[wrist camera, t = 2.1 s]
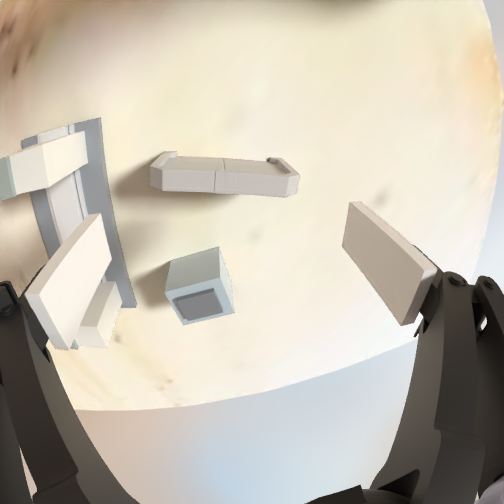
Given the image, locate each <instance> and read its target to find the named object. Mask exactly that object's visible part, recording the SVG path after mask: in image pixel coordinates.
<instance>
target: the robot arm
mask: <svg viewBox="0 0 504 504" xmlns="http://www.w3.org/2000/svg"><path fill="white" fill-rule="evenodd" d="M342 247H343V248H344V250H345V251H346V252H347V253H348V255H349V256H350V257H351V259H352V260H353V261H354V262H355V264H356V265H357V266H358V268H359V269H360V270H361V272H362V273H363V274H364V275H365V277H366V278H367V279H368V281H369V282H370V284H371V285H372V286H373V288H374V289H375V290H376V292H377V293H378V294H379V296H380V297H381V299H382V300H383V301H384V303H385V304H386V306H387V307H388V308H389V310H390V311H391V313H392V314H393V316H394V317H395V318H396V320H397V321H398V323H399V324H400V326H403V325H407V324H411V323H414V321H415V319H416V317H417V315H418V313H419V312H420V313H421V314H422V315H423V319H422V321H421V323H420V325H419V327H418V329H417V331H416V332H415V334H414V337H416V336H417V334H419V338H418V345H417V351H416V358H415V363H414V368H413V373H412V378H411V383H410V387H409V391H408V396H407V399H406V403H405V407H404V411H403V414H402V418H401V422H400V424H399V428H398V431H397V434H396V437H395V440H394V443H393V446H392V449H391V451H390V454H389V457H388V459H387V461H386V463H385V465H384V466H383V468H382V469H381V470H380V471H379V473H378V474H377V476H376V477H375V479H374V480H373V482H372V485H371V486H370V488H369V489H362V488H361V485H358V486H355V487H353V488H350V489H347V490H344V491H340V492H337V493H333V494H330V495H326V496H323V497H319V498H317V499H315V500H312V501H310V502H308V503H306V504H504V295H503V293H502V291H501V289H500V288H499V286H498V285H497V283H496V282H495V281H494V280H493V279H492V278H490V277H486V276H480V277H478V279H477V282H476V284H475V285H469V284H468V283H467V281H466V280H465V279H464V278H463V277H462V276H460V275H459V274H457V273H454V272H450V271H449V272H445V273H444V272H443V271H442V270H441V269H440V268H439V267H437V266H436V265H435V264H434V263H433V262H432V261H431V260H430V259H429V258H428V257H427V256H426V255H425V254H423V252H422V251H420V250H419V249H418V248H417V247H416V246H414V245H413V244H411V243H410V242H409V241H408V240H407V239H406V238H404V237H403V236H402V235H401V234H400V233H399V232H397V231H396V230H395V229H394V228H393V227H392V226H390V225H389V224H388V223H387V222H386V221H384V220H383V219H382V218H381V217H380V216H378V215H377V214H376V213H375V212H373V211H372V210H371V209H370V208H368V207H367V206H366V205H365V204H363V203H362V202H349V208H348V215H347V221H346V226H345V232H344V237H343V243H342ZM111 260H112V258H111V254H110V250H109V246H108V242H107V238H106V234H105V230H104V225H103V221H102V216H101V213H99V214H91V215H88V216H87V217H86V218H85V219H84V220H83V221H82V222H81V224H80V225H79V226H78V227H77V228H76V229H75V230H74V231H73V232H72V234H71V235H70V236H69V237H68V238H67V239H66V240H65V242H64V243H63V244H62V245H61V246H60V248H59V249H58V250H57V251H56V252H55V254H54V255H53V256H52V257H51V259H50V260H49V261H48V262H47V264H45V265H44V266H43V267H42V268H40V270H39V271H38V272H37V274H36V275H35V277H34V278H33V279H32V280H31V283H29V285H28V286H27V287H26V289H25V290H24V292H23V293H22V294H21V296H20V297H19V298H18V296H17V294H16V292H15V290H14V288H13V286H12V284H11V282H10V281H3V282H0V504H140V503H138V502H137V501H136V500H135V499H133V498H132V497H131V496H130V495H129V494H128V493H127V492H126V491H125V490H124V489H123V487H122V486H121V485H120V484H119V482H118V481H117V479H116V478H115V477H114V475H113V474H112V473H111V471H110V470H109V468H108V467H107V465H106V464H105V462H104V461H103V459H102V458H101V456H100V455H99V453H98V452H97V450H96V449H95V447H94V445H93V444H92V442H91V440H90V439H89V437H88V435H87V433H86V432H85V430H84V428H83V426H82V424H81V422H80V421H79V419H78V417H77V415H76V413H75V411H74V409H73V407H72V405H71V403H70V401H69V398H68V396H67V394H66V392H65V390H64V387H63V385H62V383H61V380H60V378H59V375H58V373H57V370H56V368H55V365H54V363H53V360H52V357H51V354H50V352H49V350H48V349H47V347H46V343H47V341H48V339H49V340H50V341H51V343H52V345H53V346H54V348H55V349H61V350H70V348H71V346H72V343H73V341H74V338H75V336H76V333H77V331H78V328H79V326H80V324H81V321H82V319H83V317H84V315H85V312H86V310H87V308H88V306H89V304H90V301H91V299H92V297H93V295H94V293H95V291H96V289H97V287H98V285H99V283H100V281H101V279H102V277H103V275H104V273H105V271H106V269H107V267H108V265H109V263H110V261H111ZM485 317H486V318H487V324H486V326H485V328H484V329H483V330H482V329H481V324H482V323H483V321H484V319H485ZM19 445H20V447H19ZM20 448H21V451H22V454H23V456H24V459H25V461H26V464H27V466H28V468H29V471H30V473H31V475H32V477H33V480H34V482H35V484H36V487H37V492H36V493H35V494H34V495H33V496H32V497H33V498H32V499H33V502H32V499H31V496H30V492H29V489H28V485H27V481H26V477H25V473H24V468H23V463H22V458H21V453H20ZM477 491H478V496H479V500H477V501H475V498H476V495H477Z"/></svg>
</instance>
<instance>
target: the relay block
mask: <svg viewBox="0 0 504 504" xmlns="http://www.w3.org/2000/svg"><path fill="white" fill-rule="evenodd" d="M164 293H165V295H166V297H167V298H168V300H169V302H170V304H171V305H172V307H173V309H174V310H175V312H176V314H177V315H178V317H179V319H180V320H181V322H182V324H183V325H186V324H191V323H195V322H199V321H204V320H208V319H212V318H216V317H220V316H224V315H228V314H232V313H235V310H234V301H233V291H232V282H231V278H230V275H229V272H228V270H227V267H226V264H225V262H224V259H223V256H222V254H221V251H220V248H219V247H215V248H212V249H208V250H205V251H202V252H198V253H195V254H191V255H188V256H184V257H181V258H178V259H174V260H171V263H170V267H169V272H168V276H167V281H166V286H165V290H164Z"/></svg>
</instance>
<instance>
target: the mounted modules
mask: <svg viewBox="0 0 504 504" xmlns="http://www.w3.org/2000/svg"><path fill="white" fill-rule="evenodd" d="M87 163H88V158H87V150H86V141H85V131H81V132H77V133H73V134H69V135H66V136H62V137H59V138H55V139H52V140H48V141H45V142H42V143H38V144H35V145H32V146H29V147H27V148H24V149H22V150H19V151H17V152H15V153H12V154H10V155H8V156H6V157H3V158H1V159H0V201H2V200H6V199H10V198H14V197H15V196H17V195H18V194H22V193H26V192H30V191H34V190H39V189H43V188H48V187H50V186H52V185H53V184H55V183H56V182H58V181H59V180H61V179H62V178H64V177H65V176H67V175H69V174H70V173H72V172H73V171H75V170H77V169H78V168H80V167H82V166H83V165H85V164H87ZM121 305H122V300H121V297H120V294H119V291H118V288H117V285H116V282H115V281H107V282H106V283H103V282H101V284H100V285H98V287H97V289H96V291H95V293H94V295H93V297H92V299H91V301H90V304H89V306H88V308H87V310H86V312H85V315H84V317H83V319H82V321H81V324H80V326H79V328H78V331H77V333H76V336H75V338H74V341H73V343H72V346H71V348H70V349H78V347H79V346H83V347H96V348H108V345H109V342H110V338H111V335H112V332H113V329H114V326H115V323H116V320H117V317H118V314H119V311H120V308H121Z"/></svg>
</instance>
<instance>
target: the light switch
mask: <svg viewBox="0 0 504 504" xmlns="http://www.w3.org/2000/svg"><path fill="white" fill-rule="evenodd" d="M299 178H300V174H299V173H298V172H297V171H295V170H294V169H293V168H292V167H291V166H290V165H289V164H288V163H287V162H286V161H284V160H283V159H282V158H274V157H270V160H269V162H265V161H255V160H242V159H228V158H224V160H223V158H211V157H182V156H177V151H164V152H163V153H162V154H161V155H160V156H159V157H158V158H157V159H156V160H155V161H154V162H153V163H152V164H151V165H150V186H152V187H154V188H156V189H159V190H161V191H181V192H209V193H218V194H246V195H260V196H273V197H288V196H291V195H294V194H297V190H298V184H299Z"/></svg>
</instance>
